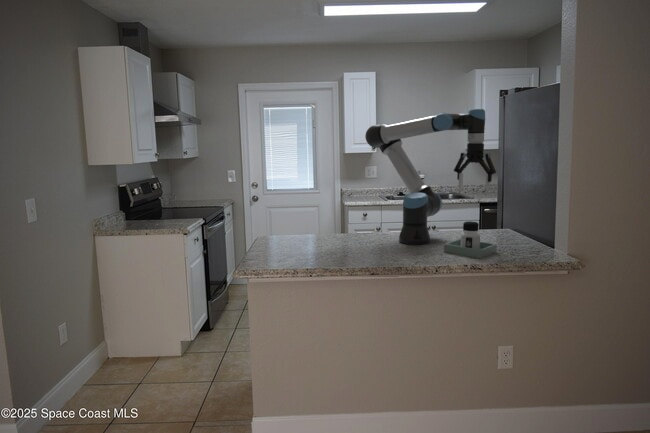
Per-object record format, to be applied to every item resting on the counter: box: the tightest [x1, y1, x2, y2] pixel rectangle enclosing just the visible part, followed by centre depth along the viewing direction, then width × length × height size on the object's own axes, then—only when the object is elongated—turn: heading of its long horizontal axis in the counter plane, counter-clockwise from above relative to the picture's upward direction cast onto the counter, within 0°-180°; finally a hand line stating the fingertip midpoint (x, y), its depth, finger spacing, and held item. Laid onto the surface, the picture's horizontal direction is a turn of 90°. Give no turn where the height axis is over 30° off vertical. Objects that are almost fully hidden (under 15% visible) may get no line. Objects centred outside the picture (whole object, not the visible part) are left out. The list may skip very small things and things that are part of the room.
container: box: [460, 220, 481, 249], centre depth 223 cm, size 8×8×13 cm
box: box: [443, 237, 498, 259], centre depth 224 cm, size 18×15×4 cm
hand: (473, 187), depth 237 cm, fingers open, 13 cm apart
